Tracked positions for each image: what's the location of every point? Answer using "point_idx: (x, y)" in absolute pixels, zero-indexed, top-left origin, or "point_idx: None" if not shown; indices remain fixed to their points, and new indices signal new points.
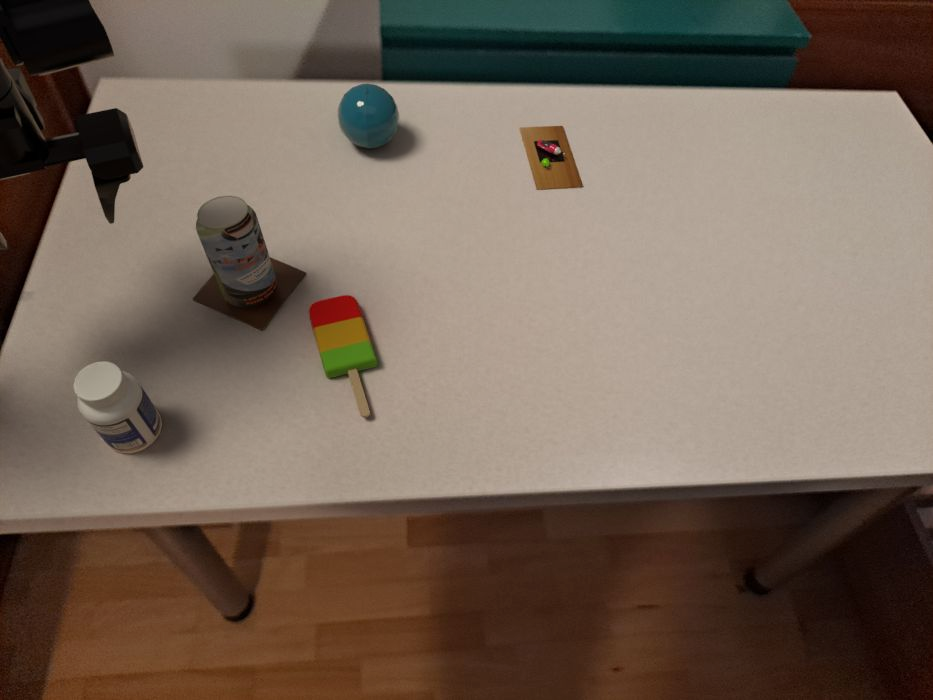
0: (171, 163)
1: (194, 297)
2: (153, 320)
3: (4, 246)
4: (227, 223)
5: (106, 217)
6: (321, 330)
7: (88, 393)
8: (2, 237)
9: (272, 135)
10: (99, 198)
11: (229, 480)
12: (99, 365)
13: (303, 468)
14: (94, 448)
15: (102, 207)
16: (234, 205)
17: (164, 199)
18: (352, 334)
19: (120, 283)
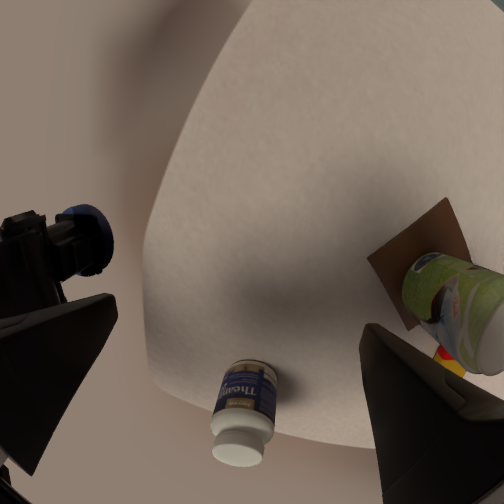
0: (397, 13)
1: (371, 259)
2: (311, 266)
3: (112, 328)
4: (495, 370)
5: (364, 384)
6: (445, 365)
7: (225, 460)
8: (104, 311)
9: (499, 55)
10: (382, 490)
11: (305, 428)
12: (242, 448)
13: (354, 433)
14: (214, 376)
15: (374, 439)
16: None
17: (381, 60)
18: (457, 373)
19: (288, 183)
